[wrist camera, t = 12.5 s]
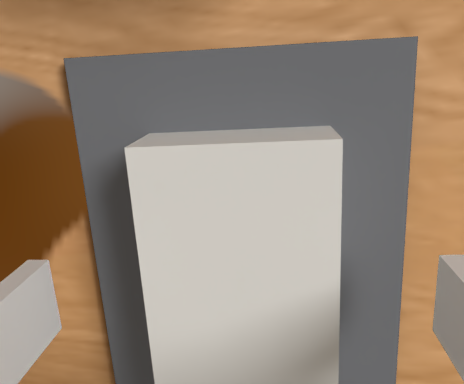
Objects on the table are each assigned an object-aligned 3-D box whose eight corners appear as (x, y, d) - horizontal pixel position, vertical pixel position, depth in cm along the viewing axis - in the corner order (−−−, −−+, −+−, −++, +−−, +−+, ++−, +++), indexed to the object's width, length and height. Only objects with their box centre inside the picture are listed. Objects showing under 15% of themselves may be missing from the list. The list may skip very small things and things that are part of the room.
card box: (327, 351, 19) (338, 402, 16) (173, 349, 20) (156, 398, 17) (330, 125, 16) (342, 139, 13) (149, 133, 17) (124, 147, 14)
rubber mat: (70, 58, 17) (63, 58, 16) (412, 37, 16) (418, 36, 15) (122, 392, 21) (118, 401, 21) (390, 398, 20) (394, 408, 19)
